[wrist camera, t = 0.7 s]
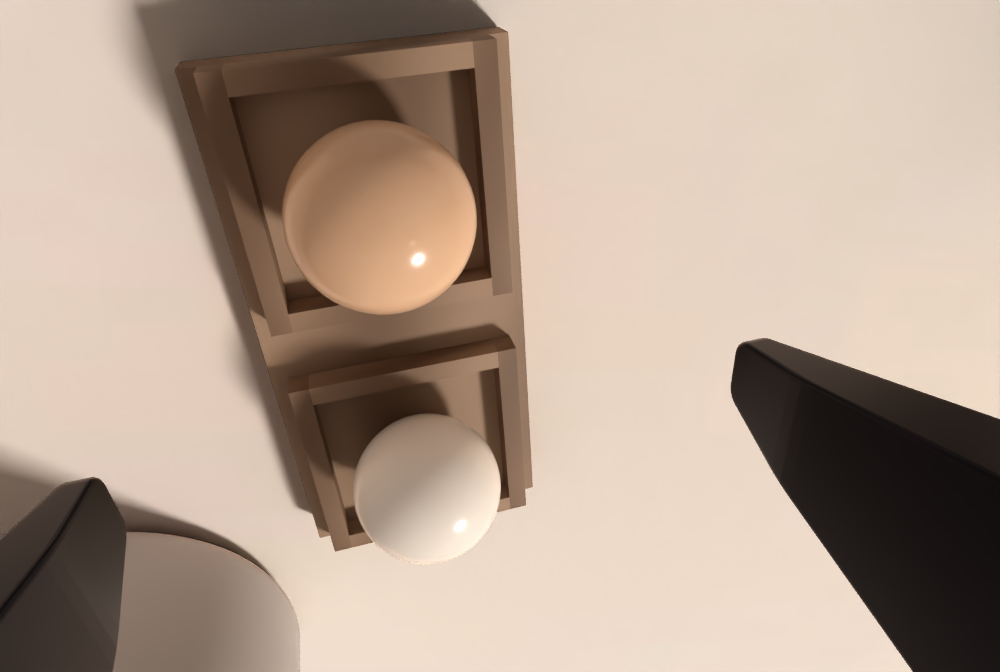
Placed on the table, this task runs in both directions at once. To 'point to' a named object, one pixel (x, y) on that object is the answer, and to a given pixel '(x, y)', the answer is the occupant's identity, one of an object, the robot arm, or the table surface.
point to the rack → (356, 335)
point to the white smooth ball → (426, 488)
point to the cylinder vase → (201, 611)
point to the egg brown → (379, 217)
